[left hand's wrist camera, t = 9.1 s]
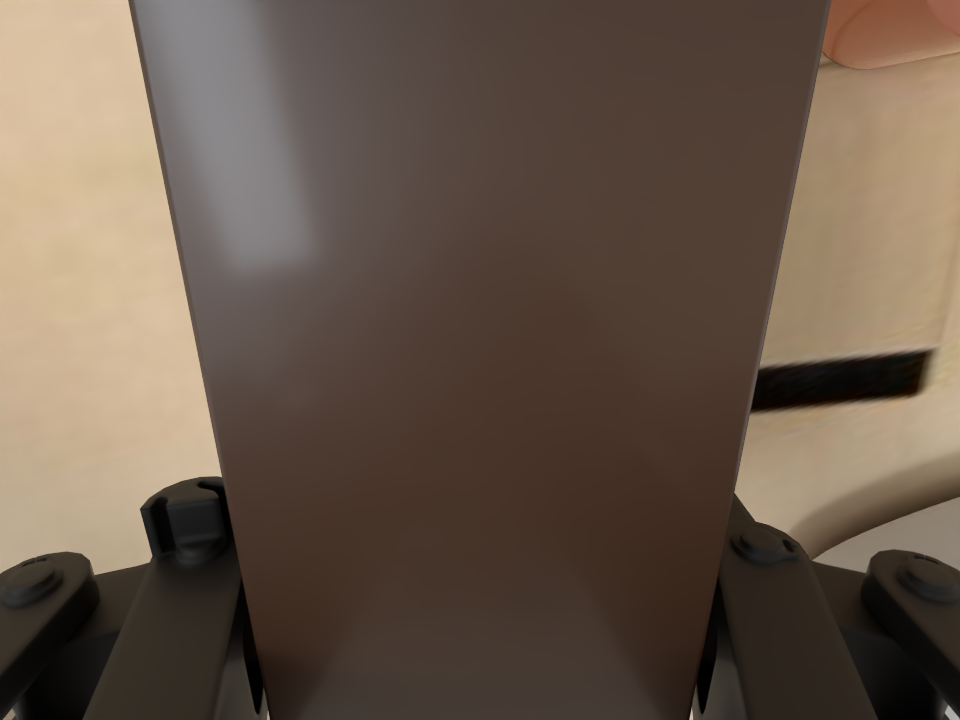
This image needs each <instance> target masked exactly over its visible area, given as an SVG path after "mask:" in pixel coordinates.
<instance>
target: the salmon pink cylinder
mask: <svg viewBox="0 0 960 720" xmlns="http://www.w3.org/2000/svg"><path fill="white" fill-rule="evenodd" d="M822 52H823V53H824V54H825V55H826V56H828V57H829V58H830V59H832V60H833V61H835V62H836V63H838V64H841V65H843V66H846V67H850V68H854V69H875V68H880V67H885V66H890V65H895V64H900V63H905V62H910V61H915V60H920V59H925V58H930V57H935V56H940V55H945V54H950V53H955V52H960V0H832V1H831V6H830V11H829V16H828V21H827V26H826V31H825V36H824V41H823V46H822Z"/></svg>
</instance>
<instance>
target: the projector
mask: <svg viewBox="0 0 960 720" xmlns="http://www.w3.org/2000/svg"><path fill="white" fill-rule="evenodd" d="M892 549H896V550H904V551H912V552H916V553H920V554H924V555H927V556H930V557H933V558H936V559H938V560H940V561H941V562H943V563H946V564H948V565H950V566H952V567H954V568H956V569H958V570H959V571H960V497H958V498H955V499H952V500H949V501H946V502H943V503H940V504H937V505H934V506H931V507H928V508H925V509H923V510H920V511H917V512H914V513H912V514H909V515H906V516H904V517H901V518H898V519H896V520H893V521H891V522H888V523H886V524H883V525H881V526H878V527H876V528H873V529H871V530H868V531H866V532H864V533H861V534H859V535H857V536H855V537H853V538H850V539H848V540H846V541H844V542H842V543H840V544H838V545H836V546H835V547H833V548H831V549H829V550H827V551H825V552H824V553H822V554H821V555H819V556H818V557H817V558H815V559H814V560H812V561H815V562H818V563H822V564H826V565H831V566H835V567H840V568H845V569H849V570H854V571H859V572H864V573H866V571H867V568H868V565H869V562H870V558H871V557H872V556H874V555H875V554H876V553H878V552H879V551H885V550H892ZM945 714H946V715H947V716H948V718H949V719H950V720H960V718H959V717H958V716H957V715H956V714H955V712H954V711H953V710H952V709H951V708H950V706H949V705H948V707H947V709H946V711H945Z"/></svg>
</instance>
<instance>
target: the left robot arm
mask: <svg viewBox="0 0 960 720" xmlns="http://www.w3.org/2000/svg"><path fill="white" fill-rule="evenodd" d="M140 511H141V515H142V518H143V522H144V526H145V529H146V533H147V537H148V541H149V544H150V548H151V552H152V555H153V556H152V558H151V561H150V563H146V564H143V565H139V566H136V567H131V568H126V569H122V570H117V571H112V572H108V573H103V574H98V575H94V572H93V569H92V566H91V563H90V560H88V559H87V558H86V557H85V556H83V555H82V554H79V553H72V552H60V553H52V554H46V555H42V556H38V557H36V558H32V559H29V560H26V561H24V562H22V563H20V564H18V565H16V566H14V567H12V568H10V569H8V570H6V571H4V572H2V573H1V574H0V720H3V718H4V717H5V716H6V715H7V714H8V712H9V711H10V710H11V709H12V708H13V710H14V713H15V717H14V718H13V719H12V720H267V712H268V706H267V701H266V696H265V691H264V686H263V681H262V676H261V671H260V666H259V661H258V656H257V651H256V645H255V640H254V635H253V630H252V625H251V620H250V615H249V610H248V605H247V600H246V595H245V590H244V585H243V580H242V574H241V569H240V564H239V559H238V554H237V549H236V544H235V539H234V534H233V529H232V524H231V519H230V514H229V509H228V503H227V498H226V493H225V488H224V483H223V478H222V477H218V476H216V477H198V478H194V479H189V480H185V481H181V482H179V483H176V484H174V485H171V486H169V487H166V488H164V489H162V490H161V491H159V492H158V493H156V494H155V495H153V496H152V497H150V498H149V499H148V500H147V501H146V502H145V504H144V505H143V506H142V507H141V508H140ZM948 705H949V706H950V708H951V709H952V710H953V711H954V712H955V714H956V715H957V716H958V717H959V718H960V571H959V570H958V569H956V568H954V567H952V566H950V565H948V564H946V563H943V562H941V561H940V560H938V559H936V558H933V557H930V556H927V555H924V554H920V553H916V552H912V551H904V550H896V549H892V550H885V551H879V552H878V553H876V554H875V555H874V556H872V557H871V558H870V562H869V565H868V568H867V571H866V573H864V572H859V571H854V570H849V569H845V568H840V567H835V566H831V565H826V564H822V563H818V562H815V561H811V560H809V557H808V555H807V554H806V552H805V551H804V550H803V548H802V547H801V545H800V544H799V543H798V542H797V541H795V540H794V539H793V538H791V537H790V536H789V535H787V534H786V533H784V532H782V531H780V530H778V529H776V528H774V527H771V526H769V525H767V524H763V523H759V522H755V520H754V519H753V518H752V516H751V515H750V513H749V512H748V511H747V509H746V508H745V507H744V505H743V504H742V503H741V501H740V500H739V499H738V497H737V496H736V494H735V493H734V496H733V501H732V506H731V511H730V516H729V521H728V526H727V531H726V536H725V541H724V546H723V551H722V556H721V562H720V567H719V572H718V577H717V582H716V587H715V592H714V597H713V602H712V607H711V612H710V617H709V622H708V627H707V632H706V637H705V642H704V647H703V652H702V658H701V663H700V668H699V673H698V678H697V683H696V688H695V693H694V698H693V703H692V711H693V720H950V719H949V718H948V716H947V715H946V714H945V711H946V709H947V707H948Z"/></svg>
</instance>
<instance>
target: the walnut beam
mask: <svg viewBox="0 0 960 720" xmlns="http://www.w3.org/2000/svg"><path fill="white" fill-rule="evenodd" d="M128 1H129V6H130V11H131V16H132V22H133V27H134V32H135V37H136V42H137V47H138V52H139V57H140V62H141V67H142V72H143V77H144V82H145V88H146V93H147V98H148V103H149V108H150V113H151V118H152V123H153V128H154V133H155V138H156V143H157V148H158V153H159V159H160V164H161V169H162V174H163V179H164V184H165V189H166V194H167V199H168V204H169V209H170V214H171V219H172V224H173V230H174V235H175V240H176V245H177V250H178V255H179V260H180V265H181V270H182V275H183V280H184V285H185V290H186V295H187V301H188V306H189V311H190V316H191V321H192V326H193V331H194V336H195V341H196V346H197V351H198V356H199V361H200V366H201V372H202V377H203V382H204V387H205V392H206V397H207V402H208V407H209V412H210V417H211V422H212V427H213V432H214V438H215V443H216V448H217V453H218V458H219V463H220V468H221V473H222V478H223V483H224V488H225V493H226V498H227V503H228V509H229V514H230V519H231V524H232V529H233V534H234V539H235V544H236V549H237V554H238V559H239V564H240V569H241V574H242V580H243V585H244V590H245V595H246V600H247V605H248V610H249V615H250V620H251V625H252V630H253V635H254V640H255V645H256V651H257V656H258V661H259V666H260V671H261V676H262V681H263V686H264V691H265V696H266V701H267V706H268V711H269V716H270V720H689V718H690V713H691V708H692V703H693V698H694V693H695V688H696V683H697V678H698V673H699V668H700V663H701V658H702V652H703V647H704V642H705V637H706V632H707V627H708V622H709V617H710V612H711V607H712V602H713V597H714V592H715V587H716V582H717V577H718V572H719V567H720V562H721V556H722V551H723V546H724V541H725V536H726V531H727V526H728V521H729V516H730V511H731V506H732V501H733V496H734V491H735V486H736V481H737V476H738V471H739V466H740V460H741V455H742V450H743V445H744V440H745V435H746V430H747V425H748V420H749V415H750V410H751V405H752V400H753V395H754V390H755V385H756V380H757V375H758V370H759V364H760V359H761V354H762V349H763V344H764V339H765V334H766V329H767V324H768V319H769V314H770V309H771V304H772V299H773V294H774V289H775V284H776V279H777V274H778V268H779V263H780V258H781V253H782V248H783V243H784V238H785V233H786V228H787V223H788V218H789V213H790V208H791V203H792V198H793V193H794V188H795V183H796V178H797V172H798V167H799V162H800V157H801V152H802V147H803V142H804V137H805V132H806V127H807V122H808V117H809V112H810V107H811V102H812V97H813V92H814V87H815V82H816V76H817V71H818V66H819V61H820V56H821V51H822V46H823V41H824V36H825V31H826V26H827V21H828V16H829V11H830V6H831V1H832V0H128Z"/></svg>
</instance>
